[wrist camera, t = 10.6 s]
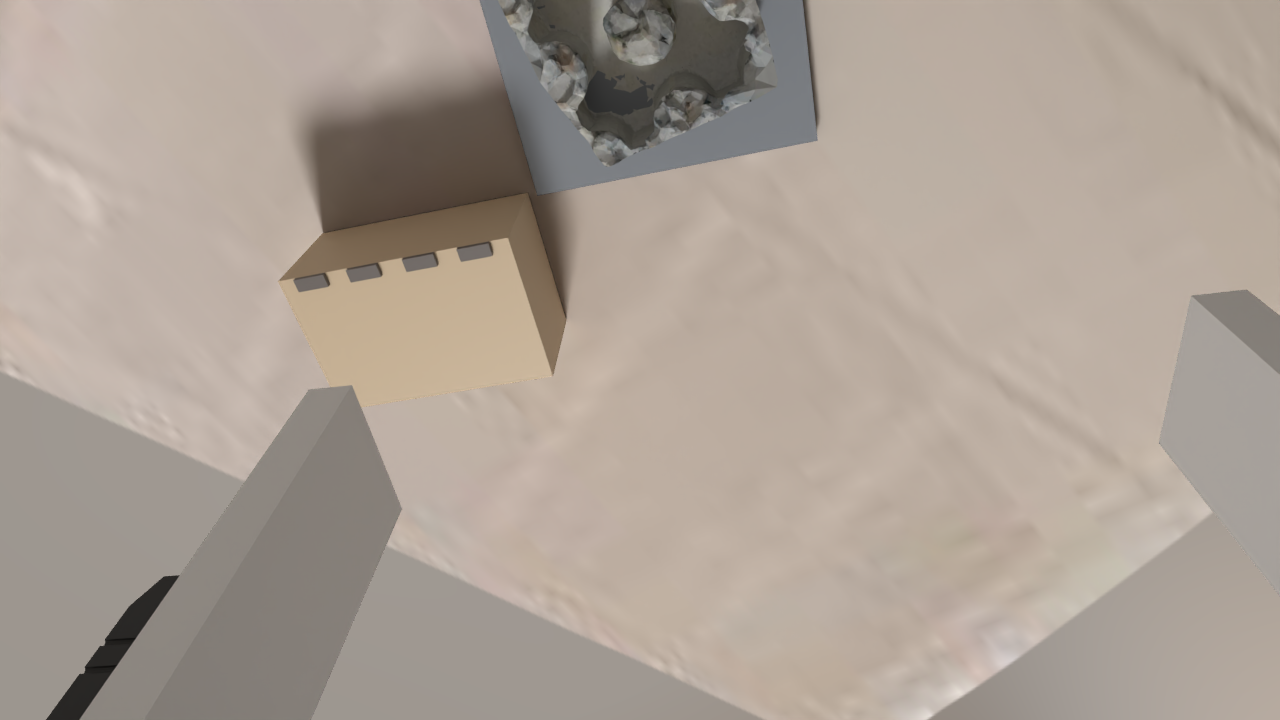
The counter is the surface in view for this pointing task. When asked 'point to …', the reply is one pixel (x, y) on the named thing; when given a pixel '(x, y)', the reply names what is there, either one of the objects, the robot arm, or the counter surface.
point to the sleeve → (430, 302)
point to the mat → (744, 130)
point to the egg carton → (646, 62)
